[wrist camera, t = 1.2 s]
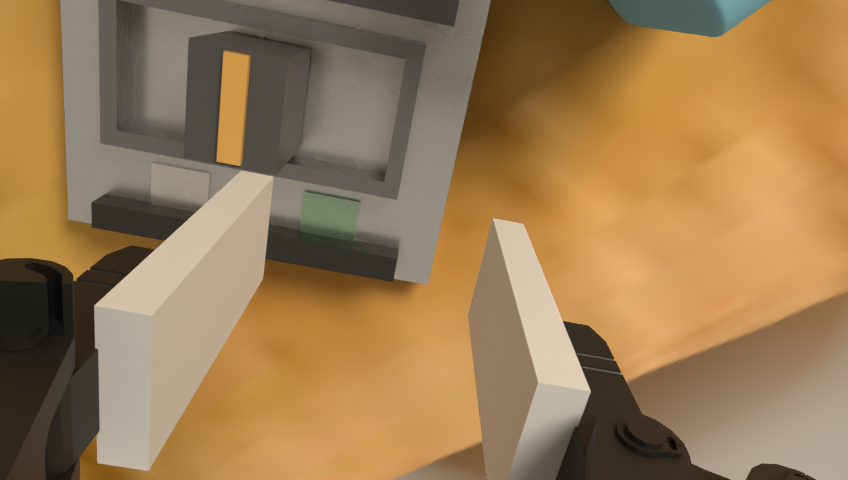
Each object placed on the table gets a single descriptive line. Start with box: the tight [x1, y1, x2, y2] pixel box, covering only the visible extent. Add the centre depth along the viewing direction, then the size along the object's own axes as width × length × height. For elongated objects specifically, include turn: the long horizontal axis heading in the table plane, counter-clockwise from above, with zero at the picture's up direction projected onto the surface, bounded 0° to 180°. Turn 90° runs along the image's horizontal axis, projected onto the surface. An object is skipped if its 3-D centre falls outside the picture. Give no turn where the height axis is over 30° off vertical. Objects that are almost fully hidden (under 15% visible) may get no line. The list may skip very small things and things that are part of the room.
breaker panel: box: [60, 0, 491, 285], centre depth 30 cm, size 18×20×4 cm
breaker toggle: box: [184, 31, 311, 175], centre depth 27 cm, size 5×4×5 cm
